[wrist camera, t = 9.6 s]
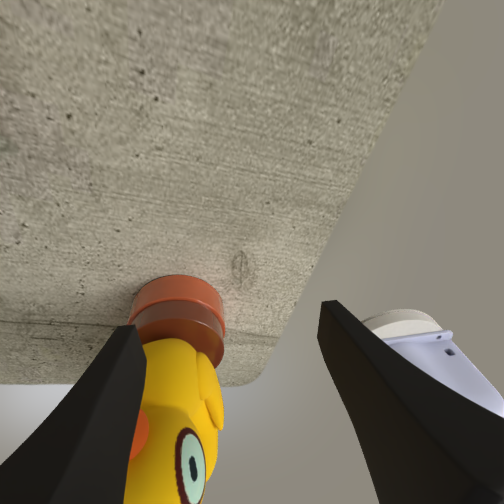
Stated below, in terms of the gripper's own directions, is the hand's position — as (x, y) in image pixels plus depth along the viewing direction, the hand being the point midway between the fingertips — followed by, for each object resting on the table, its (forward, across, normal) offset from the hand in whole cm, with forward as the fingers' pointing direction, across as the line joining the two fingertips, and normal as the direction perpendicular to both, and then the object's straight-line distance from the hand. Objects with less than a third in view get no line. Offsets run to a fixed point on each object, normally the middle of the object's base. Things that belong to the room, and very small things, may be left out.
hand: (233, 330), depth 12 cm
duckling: (+6, +4, +8) cm, 11 cm away
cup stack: (+10, +4, +8) cm, 14 cm away
